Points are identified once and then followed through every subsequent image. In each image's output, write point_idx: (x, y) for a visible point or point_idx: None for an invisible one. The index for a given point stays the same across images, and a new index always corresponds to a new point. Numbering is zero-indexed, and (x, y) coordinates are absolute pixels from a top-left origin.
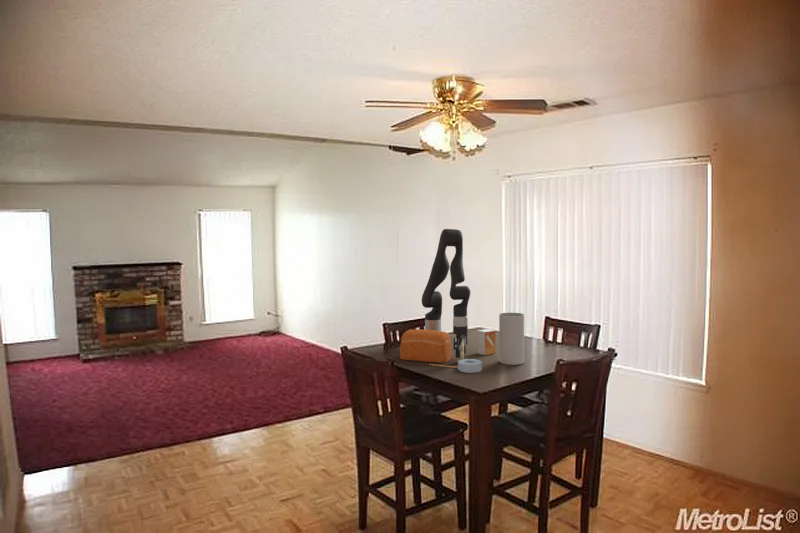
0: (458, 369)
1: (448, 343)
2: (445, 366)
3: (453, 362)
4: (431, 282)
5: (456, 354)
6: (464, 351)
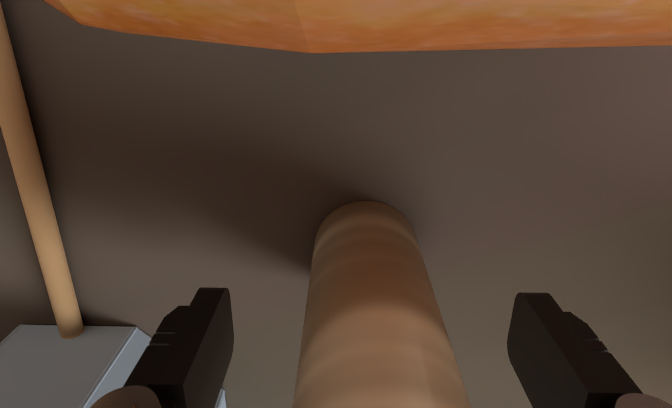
0: (11, 335)
1: (614, 39)
2: (9, 141)
3: (348, 146)
4: None
5: (158, 345)
6: (527, 375)
